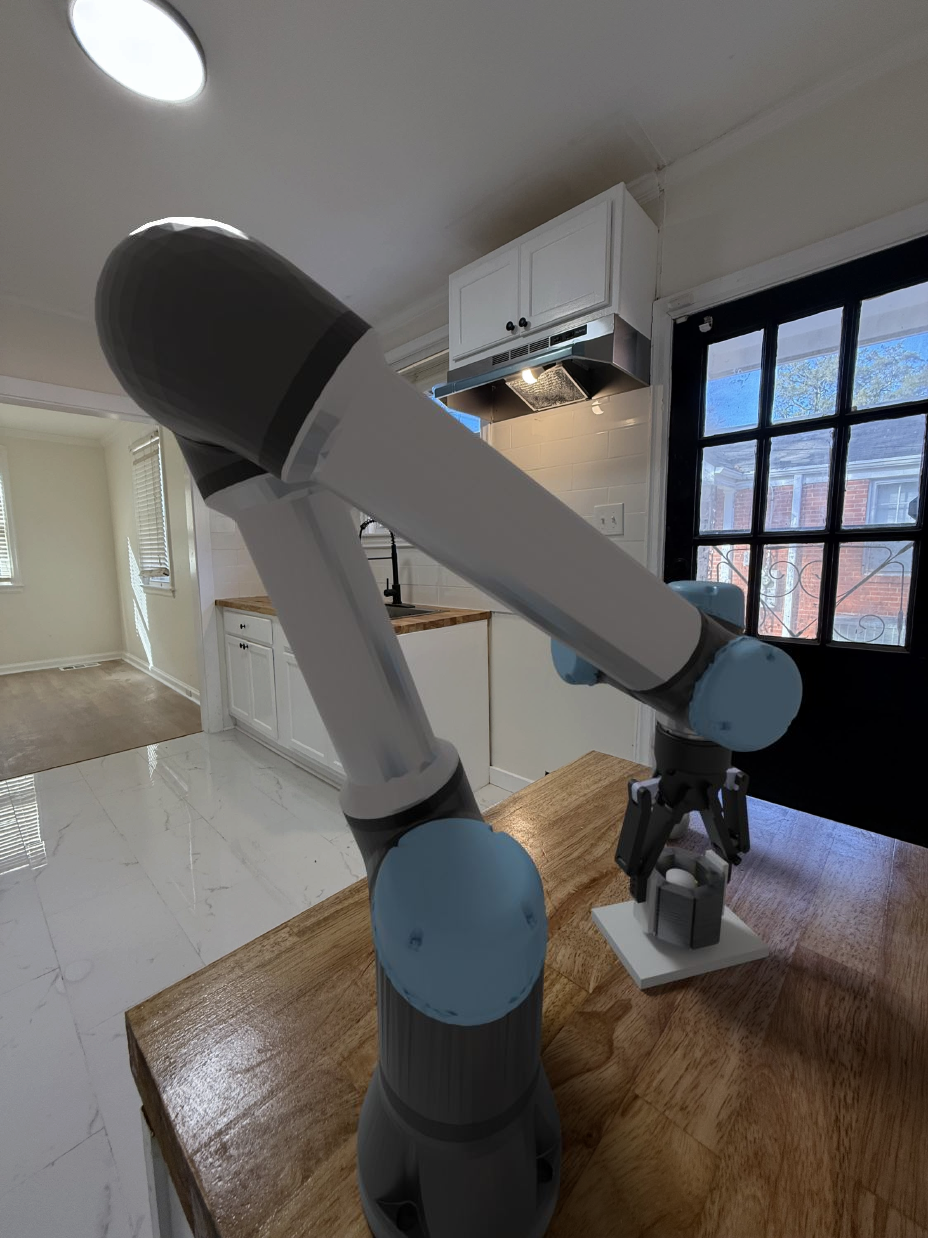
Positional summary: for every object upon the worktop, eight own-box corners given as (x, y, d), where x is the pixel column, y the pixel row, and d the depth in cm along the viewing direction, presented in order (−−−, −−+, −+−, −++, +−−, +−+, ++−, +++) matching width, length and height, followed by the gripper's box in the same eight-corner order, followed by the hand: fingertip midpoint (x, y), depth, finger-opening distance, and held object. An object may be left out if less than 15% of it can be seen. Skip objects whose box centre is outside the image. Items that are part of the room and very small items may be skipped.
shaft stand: (640, 989, 51) (645, 924, 50) (591, 917, 61) (594, 861, 59) (768, 956, 55) (775, 895, 54) (703, 894, 65) (708, 840, 64)
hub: (670, 955, 52) (674, 904, 51) (624, 899, 61) (627, 853, 59) (738, 938, 55) (743, 889, 54) (685, 886, 63) (688, 842, 62)
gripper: (624, 753, 47) (612, 963, 51) (805, 730, 53) (781, 921, 57) (585, 724, 55) (577, 910, 58) (748, 706, 60) (730, 877, 64)
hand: (678, 915), depth 58 cm, fingers closed on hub, 8 cm apart
